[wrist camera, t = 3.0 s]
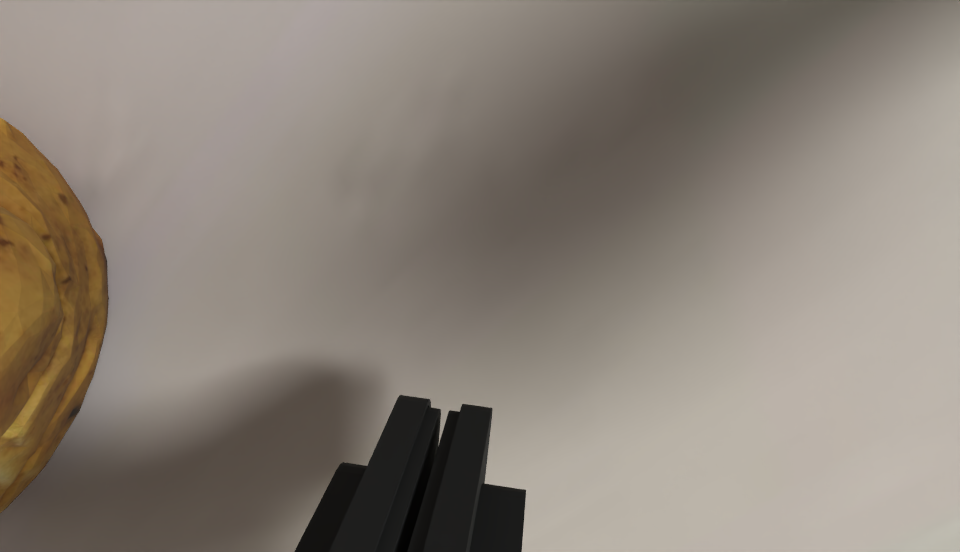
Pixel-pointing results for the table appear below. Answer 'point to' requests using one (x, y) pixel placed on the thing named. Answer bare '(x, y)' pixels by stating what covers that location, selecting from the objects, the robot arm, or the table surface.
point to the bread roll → (43, 309)
